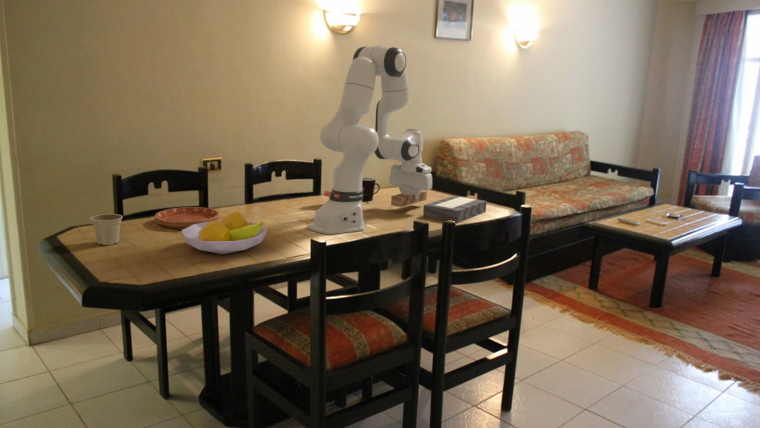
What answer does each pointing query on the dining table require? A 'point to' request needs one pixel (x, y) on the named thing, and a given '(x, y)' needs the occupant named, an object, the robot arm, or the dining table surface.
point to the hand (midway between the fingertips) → (409, 197)
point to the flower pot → (107, 228)
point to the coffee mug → (369, 188)
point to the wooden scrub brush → (407, 199)
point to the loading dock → (454, 208)
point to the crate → (407, 190)
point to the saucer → (185, 217)
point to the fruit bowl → (225, 234)
